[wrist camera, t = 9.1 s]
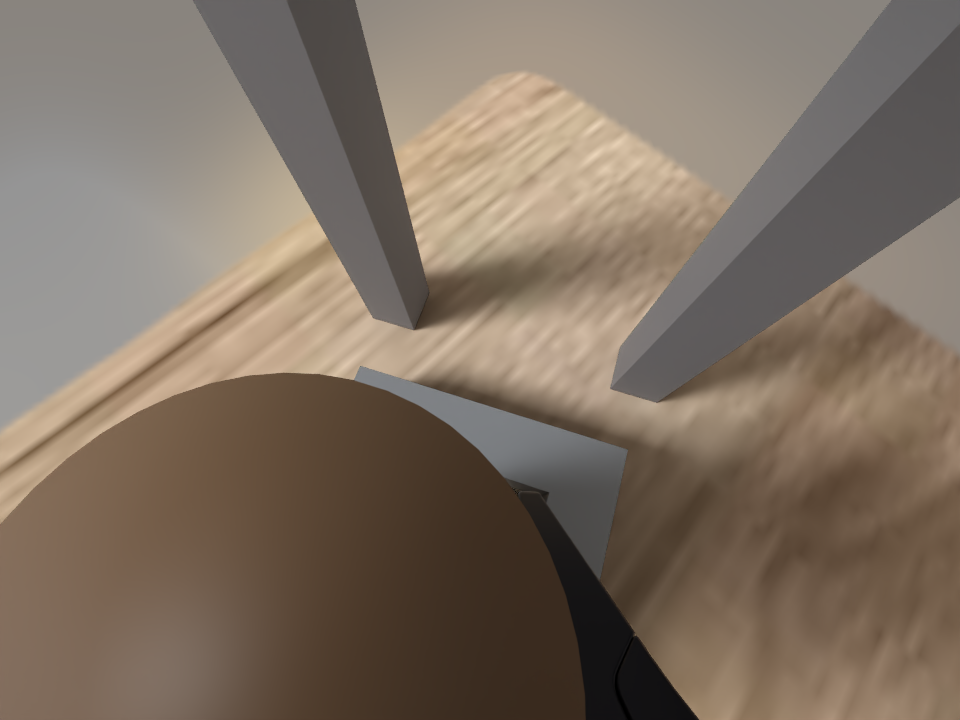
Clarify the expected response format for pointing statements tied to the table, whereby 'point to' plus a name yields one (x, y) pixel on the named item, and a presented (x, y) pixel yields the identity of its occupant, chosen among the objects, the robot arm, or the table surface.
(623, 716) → the robot arm
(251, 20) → the teal topped stool
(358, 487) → the peg
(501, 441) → the socket
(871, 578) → the table surface
